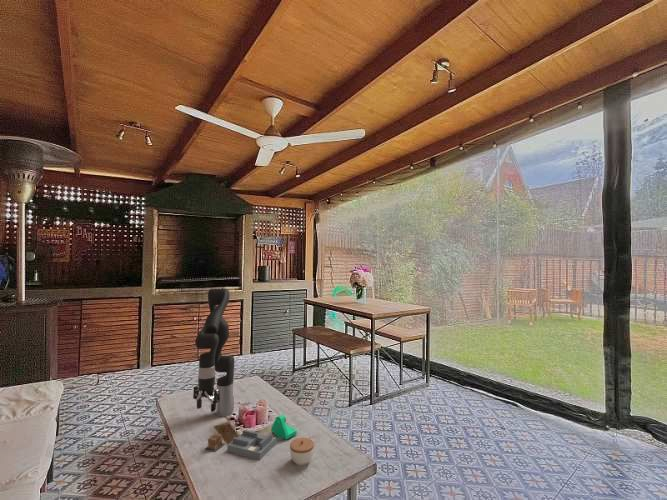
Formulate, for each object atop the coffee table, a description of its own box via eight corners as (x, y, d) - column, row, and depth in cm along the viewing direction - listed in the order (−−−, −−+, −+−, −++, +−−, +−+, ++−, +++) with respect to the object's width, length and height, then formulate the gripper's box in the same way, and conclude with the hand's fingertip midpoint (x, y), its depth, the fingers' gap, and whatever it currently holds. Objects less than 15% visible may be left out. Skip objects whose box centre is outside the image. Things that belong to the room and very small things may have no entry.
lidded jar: (291, 454, 154) (292, 433, 154) (314, 454, 153) (315, 434, 154) (287, 468, 143) (288, 446, 143) (312, 469, 143) (312, 447, 143)
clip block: (215, 442, 162) (215, 433, 162) (222, 444, 161) (222, 434, 161) (208, 448, 158) (208, 438, 158) (214, 449, 156) (215, 440, 156)
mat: (215, 441, 164) (215, 441, 164) (225, 444, 161) (225, 443, 161) (204, 449, 157) (204, 448, 157) (215, 452, 155) (215, 451, 155)
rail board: (245, 436, 168) (245, 424, 169) (276, 443, 162) (276, 431, 162) (227, 451, 155) (227, 438, 156) (260, 459, 149) (260, 446, 149)
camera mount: (297, 435, 170) (297, 415, 171) (286, 441, 165) (286, 420, 165) (282, 427, 178) (282, 408, 179) (271, 433, 173) (271, 413, 173)
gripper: (223, 375, 160) (223, 409, 159) (201, 371, 165) (200, 404, 165) (212, 380, 153) (212, 415, 152) (189, 375, 158) (188, 410, 158)
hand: (206, 409), depth 159 cm, fingers open, 8 cm apart
